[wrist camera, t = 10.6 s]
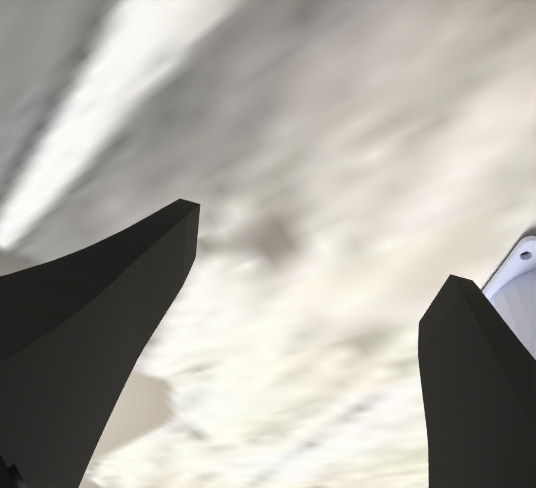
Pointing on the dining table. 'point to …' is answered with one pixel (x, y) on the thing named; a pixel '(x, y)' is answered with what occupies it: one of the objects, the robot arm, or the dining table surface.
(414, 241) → the dining table surface
